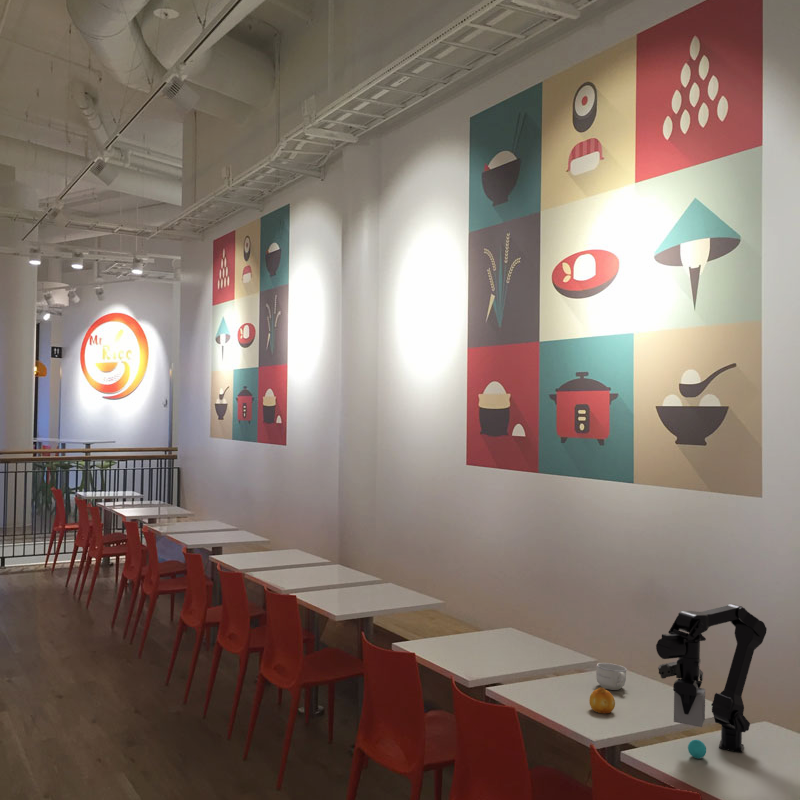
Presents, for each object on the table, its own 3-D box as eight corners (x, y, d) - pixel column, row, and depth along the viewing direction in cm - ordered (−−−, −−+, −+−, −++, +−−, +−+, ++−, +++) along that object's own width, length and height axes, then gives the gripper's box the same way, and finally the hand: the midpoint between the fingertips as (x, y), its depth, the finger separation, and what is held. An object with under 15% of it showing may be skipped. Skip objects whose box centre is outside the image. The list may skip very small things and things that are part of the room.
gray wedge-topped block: (677, 714, 236) (677, 684, 236) (704, 719, 232) (705, 688, 233) (673, 721, 229) (674, 691, 229) (701, 727, 226) (702, 695, 226)
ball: (701, 735, 231) (709, 752, 230) (685, 740, 233) (693, 757, 231) (700, 740, 226) (709, 757, 225) (684, 746, 228) (692, 763, 227)
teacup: (591, 683, 297) (592, 661, 297) (619, 683, 298) (620, 661, 298) (605, 695, 283) (606, 672, 283) (634, 695, 284) (635, 673, 284)
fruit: (594, 709, 260) (604, 687, 262) (581, 703, 267) (591, 681, 270) (612, 721, 261) (623, 699, 264) (599, 715, 269) (609, 693, 271)
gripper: (665, 644, 244) (664, 696, 243) (655, 658, 227) (654, 714, 226) (703, 650, 239) (702, 703, 238) (696, 665, 222) (695, 721, 221)
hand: (688, 710), depth 231 cm, fingers closed on gray wedge-topped block, 8 cm apart
